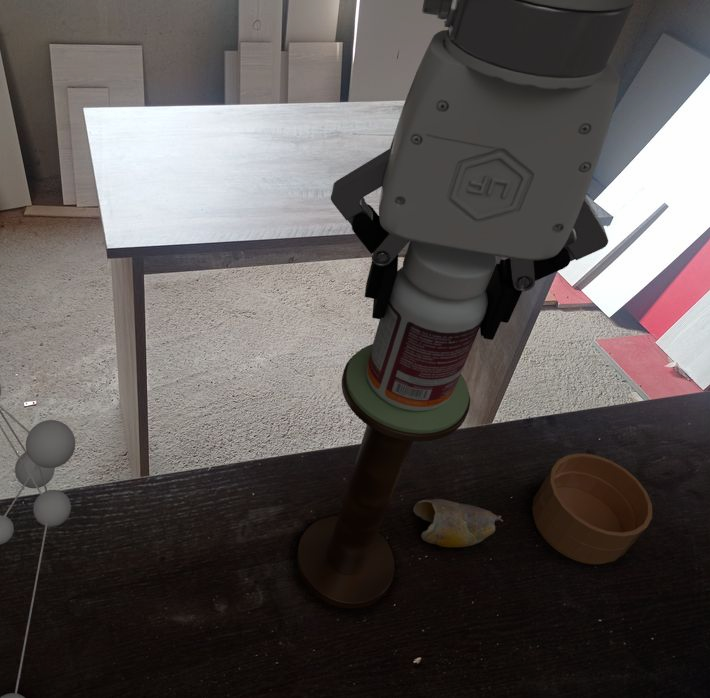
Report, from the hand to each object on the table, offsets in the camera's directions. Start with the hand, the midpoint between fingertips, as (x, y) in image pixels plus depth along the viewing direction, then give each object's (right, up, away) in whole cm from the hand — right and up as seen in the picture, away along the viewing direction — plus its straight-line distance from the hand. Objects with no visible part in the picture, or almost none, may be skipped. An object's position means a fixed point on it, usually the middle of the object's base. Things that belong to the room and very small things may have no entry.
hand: (432, 313), depth 46 cm
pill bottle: (-1, -5, +5) cm, 7 cm away
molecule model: (-34, -23, +18) cm, 45 cm away
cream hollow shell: (+8, -20, +25) cm, 33 cm away
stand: (-3, -22, +21) cm, 31 cm away
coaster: (-1, -5, +5) cm, 7 cm away
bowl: (+22, -20, +27) cm, 40 cm away
